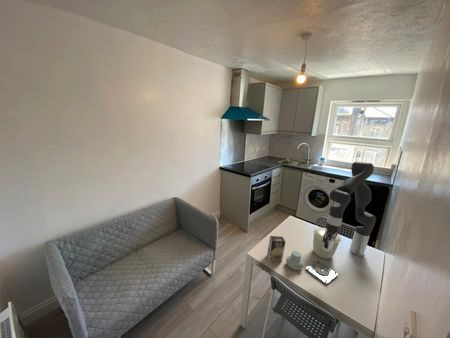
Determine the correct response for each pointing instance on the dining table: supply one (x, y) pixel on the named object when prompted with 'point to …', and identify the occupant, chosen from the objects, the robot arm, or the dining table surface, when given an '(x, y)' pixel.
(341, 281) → the dining table surface
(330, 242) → the duct stub
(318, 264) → the duct flange
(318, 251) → the canister
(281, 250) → the coffee box
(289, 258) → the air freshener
